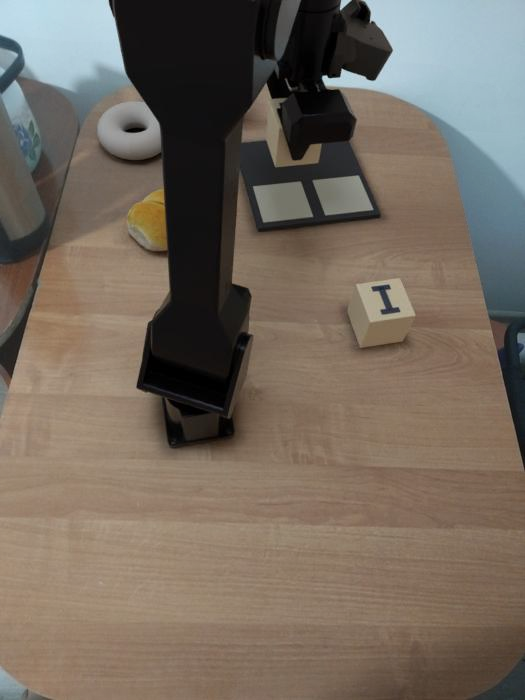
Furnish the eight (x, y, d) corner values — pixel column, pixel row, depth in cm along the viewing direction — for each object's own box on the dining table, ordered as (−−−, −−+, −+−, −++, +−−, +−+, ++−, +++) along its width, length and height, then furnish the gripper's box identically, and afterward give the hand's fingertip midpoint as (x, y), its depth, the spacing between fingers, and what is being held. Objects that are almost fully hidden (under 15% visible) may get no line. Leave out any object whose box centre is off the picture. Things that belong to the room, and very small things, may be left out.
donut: (164, 114, 80) (93, 122, 78) (163, 92, 77) (89, 100, 75) (180, 160, 75) (105, 170, 73) (179, 138, 72) (101, 148, 70)
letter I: (402, 341, 62) (416, 314, 57) (360, 348, 61) (370, 321, 57) (388, 305, 64) (400, 277, 60) (346, 311, 63) (356, 283, 59)
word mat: (380, 217, 72) (381, 213, 71) (258, 231, 69) (258, 227, 68) (344, 136, 80) (345, 132, 79) (234, 146, 77) (234, 142, 76)
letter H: (318, 163, 63) (325, 123, 58) (275, 167, 62) (278, 128, 57) (307, 134, 65) (313, 94, 61) (265, 138, 64) (268, 98, 60)
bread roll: (216, 225, 69) (216, 201, 66) (160, 263, 65) (157, 240, 62) (172, 190, 72) (169, 165, 68) (116, 225, 68) (110, 201, 65)
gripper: (432, 50, 46) (385, 194, 59) (364, -58, 55) (337, 88, 69) (301, 59, 44) (283, 206, 57) (253, -54, 53) (248, 94, 67)
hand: (291, 143), depth 63 cm, fingers closed on letter H, 5 cm apart
